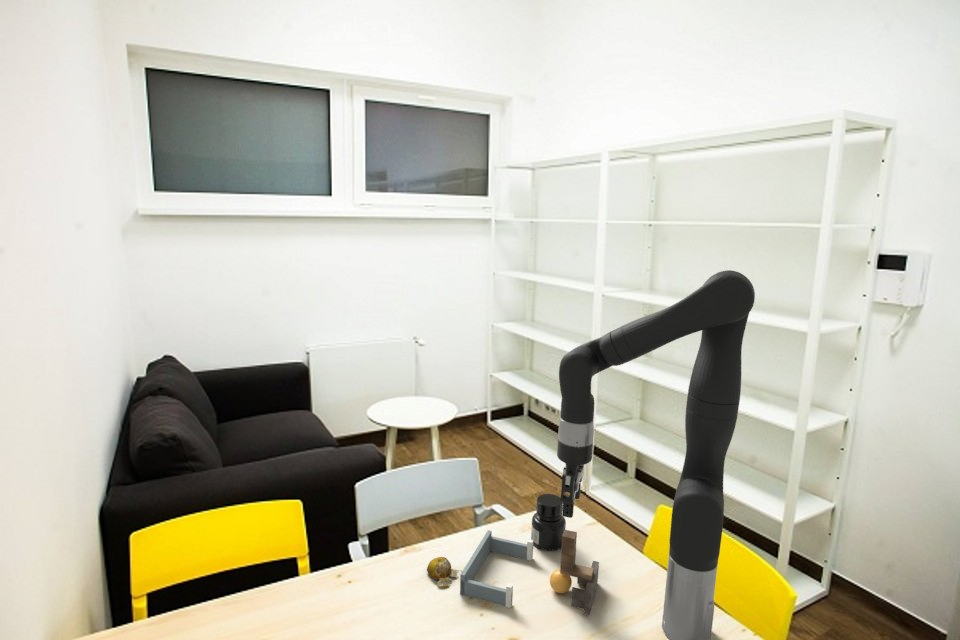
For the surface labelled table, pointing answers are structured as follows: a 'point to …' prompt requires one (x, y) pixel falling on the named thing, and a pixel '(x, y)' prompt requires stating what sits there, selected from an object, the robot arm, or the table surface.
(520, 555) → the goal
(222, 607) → the table surface
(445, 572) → the fruit
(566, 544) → the kicker
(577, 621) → the table surface
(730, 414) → the robot arm
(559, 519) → the ink bottle
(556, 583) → the ball
